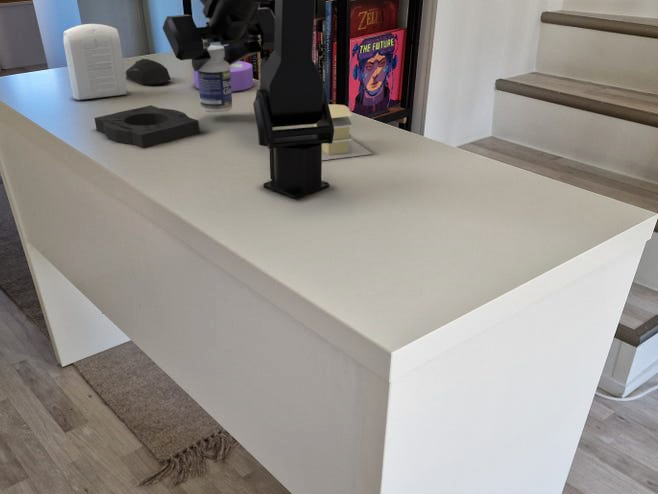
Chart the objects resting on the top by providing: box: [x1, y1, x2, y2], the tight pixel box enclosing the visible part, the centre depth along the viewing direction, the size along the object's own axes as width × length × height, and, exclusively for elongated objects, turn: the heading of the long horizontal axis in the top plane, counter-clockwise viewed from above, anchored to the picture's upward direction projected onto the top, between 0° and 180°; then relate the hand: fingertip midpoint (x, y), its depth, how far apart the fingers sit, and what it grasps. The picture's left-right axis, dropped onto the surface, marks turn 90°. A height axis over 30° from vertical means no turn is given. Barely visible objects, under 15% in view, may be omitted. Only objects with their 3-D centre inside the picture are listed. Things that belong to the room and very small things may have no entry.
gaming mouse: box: [125, 58, 172, 86], centre depth 137 cm, size 6×15×4 cm, turn 42°
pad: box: [94, 104, 201, 149], centre depth 108 cm, size 13×13×2 cm
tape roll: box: [192, 60, 254, 93], centre depth 133 cm, size 12×12×4 cm
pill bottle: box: [198, 45, 233, 114], centre depth 112 cm, size 5×5×10 cm
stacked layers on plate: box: [313, 103, 373, 161], centre depth 101 cm, size 10×9×6 cm
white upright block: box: [62, 23, 128, 101], centre depth 123 cm, size 10×4×12 cm, turn 123°
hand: (209, 66), depth 112 cm, fingers closed on pill bottle, 5 cm apart
